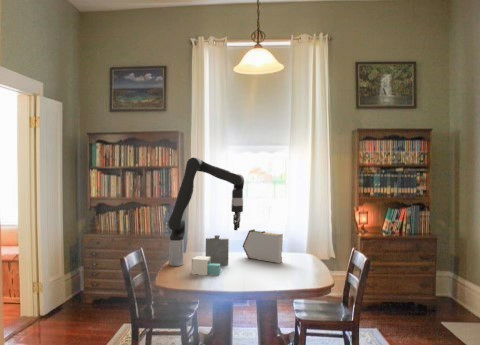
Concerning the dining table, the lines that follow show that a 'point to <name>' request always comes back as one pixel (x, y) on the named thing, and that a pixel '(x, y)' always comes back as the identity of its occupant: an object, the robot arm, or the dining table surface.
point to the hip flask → (217, 250)
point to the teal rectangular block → (213, 268)
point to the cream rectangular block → (200, 265)
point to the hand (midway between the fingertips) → (236, 229)
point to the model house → (263, 246)
